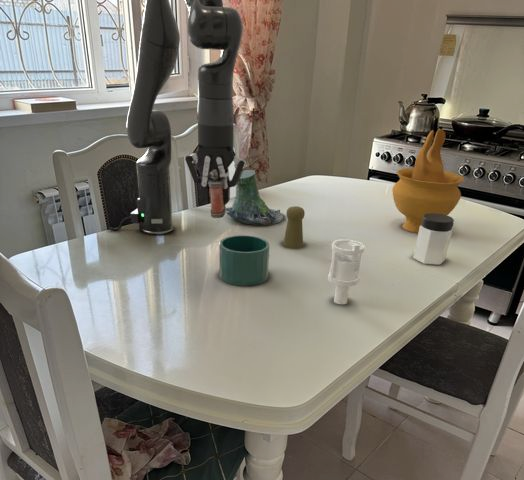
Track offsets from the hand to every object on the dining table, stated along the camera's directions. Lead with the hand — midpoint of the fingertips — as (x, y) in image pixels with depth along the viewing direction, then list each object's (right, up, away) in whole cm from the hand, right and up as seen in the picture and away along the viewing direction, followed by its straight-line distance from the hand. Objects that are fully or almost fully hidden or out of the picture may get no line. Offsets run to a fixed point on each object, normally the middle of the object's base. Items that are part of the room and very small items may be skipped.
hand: (216, 203), depth 114 cm
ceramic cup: (+6, -15, +13) cm, 20 cm away
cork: (+20, -3, +34) cm, 39 cm away
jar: (+58, -8, +28) cm, 65 cm away
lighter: (0, -2, +1) cm, 2 cm away
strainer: (+29, -22, +3) cm, 37 cm away
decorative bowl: (+62, +7, +52) cm, 81 cm away
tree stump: (+8, +10, +53) cm, 55 cm away
